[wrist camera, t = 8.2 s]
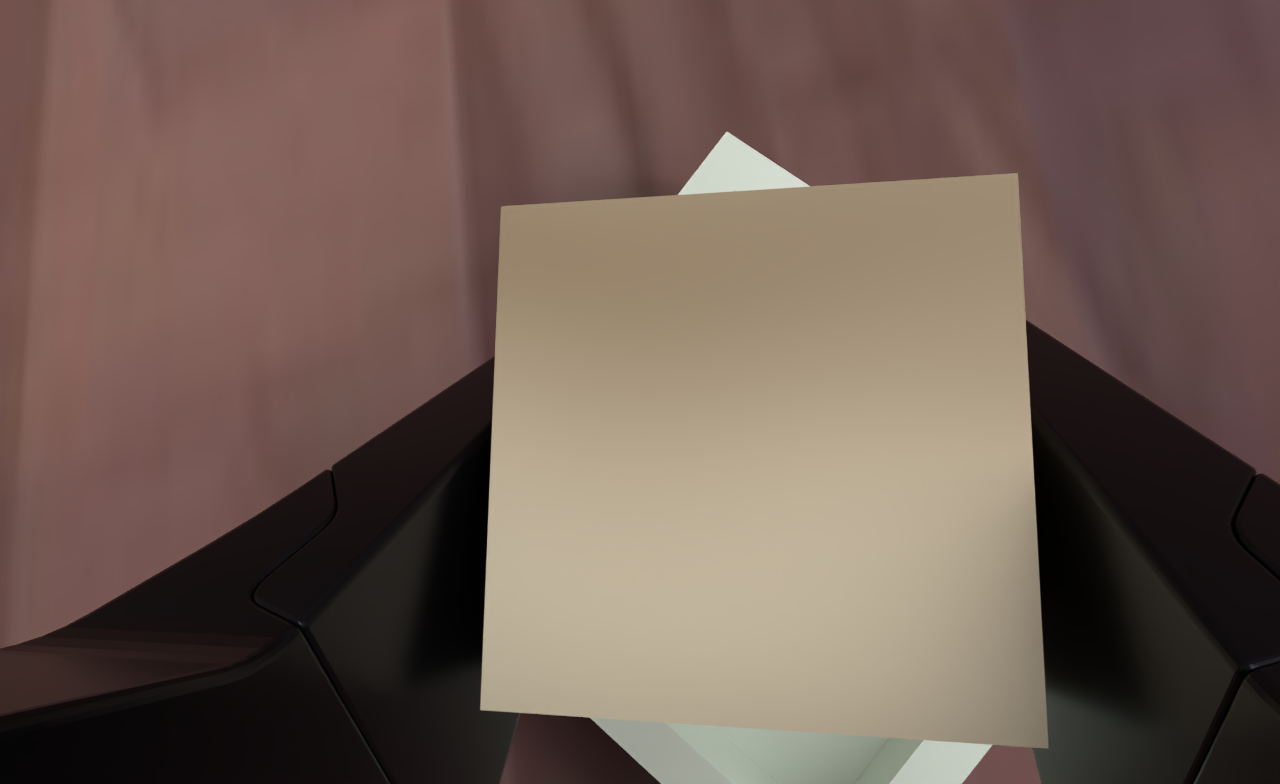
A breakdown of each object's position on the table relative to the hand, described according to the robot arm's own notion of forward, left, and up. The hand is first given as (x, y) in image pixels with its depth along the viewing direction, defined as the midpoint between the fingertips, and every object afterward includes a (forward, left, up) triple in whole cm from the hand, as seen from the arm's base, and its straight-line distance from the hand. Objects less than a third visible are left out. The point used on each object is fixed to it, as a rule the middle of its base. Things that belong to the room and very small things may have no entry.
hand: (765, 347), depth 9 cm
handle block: (-1, +1, -7) cm, 7 cm away
